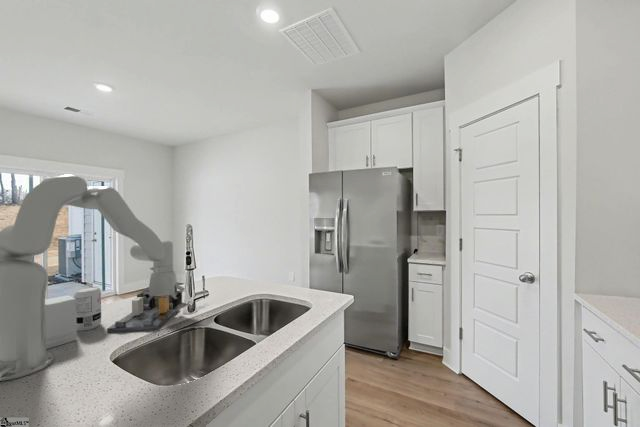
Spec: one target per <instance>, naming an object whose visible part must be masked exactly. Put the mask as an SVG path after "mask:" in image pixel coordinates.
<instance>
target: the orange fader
mask: <svg viewBox="0 0 640 427" xmlns="http://www.w3.org/2000/svg"><path fill="white" fill-rule="evenodd" d="M158 308H159V313H165V312H167V311H168V310H169V296H161V297H160V298H159V307H158Z"/></svg>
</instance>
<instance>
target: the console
mask: <svg viewBox="0 0 640 427" xmlns="http://www.w3.org/2000/svg"><path fill="white" fill-rule="evenodd" d="M179 311H180V306H177V307H176V308H175V309H173V303H169V310H168V311H167V312H165V313H159V307H155V308H153V309H152V310H150V307H149V304H144V305H143V313H141V314H140V315H137V316H132V312H131V313H128V314H127V315H126V316H124V317H123V318H121V319H120V320H116V321H115V322H114V323H113V324H112V325H111V326H108V327H107V329H106V333H124V332H125V333H127V332H144V331H157V330H160V328H161V327H162V326H164V325H165V324H166V323H167V322H168V321H169V320H170V319H172V317H173V316H175V315H176V313H178V312H179Z"/></svg>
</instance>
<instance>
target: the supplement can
mask: <svg viewBox="0 0 640 427" xmlns="http://www.w3.org/2000/svg"><path fill="white" fill-rule="evenodd" d="M73 298H75V299H76V316H77V332H84V331H85V332H86V331H89V330H90V331H91V330H93V329H95V328H97V327H100V325H101V324H102V292H101V290H100V288H99V287H98V286H97V287H96V286H94V287H93V286H91V287H85V288H80V289H77V290H75V292H74V294H73Z"/></svg>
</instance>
